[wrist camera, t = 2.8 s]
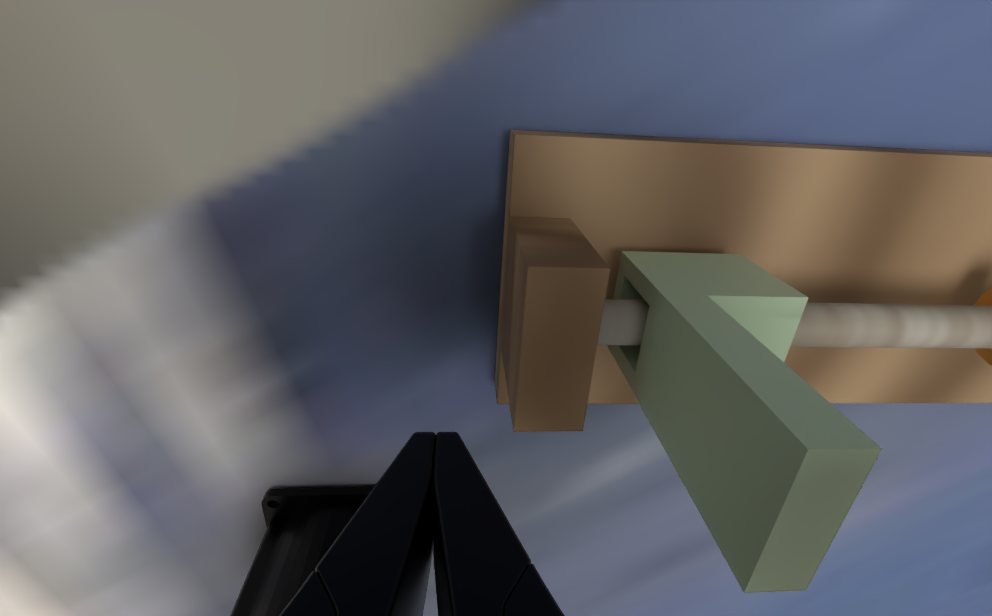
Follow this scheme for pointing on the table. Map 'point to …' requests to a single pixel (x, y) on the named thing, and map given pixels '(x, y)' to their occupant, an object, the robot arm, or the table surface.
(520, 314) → the linear slide rail
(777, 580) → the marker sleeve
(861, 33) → the table surface
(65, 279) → the table surface
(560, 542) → the table surface
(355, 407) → the table surface
